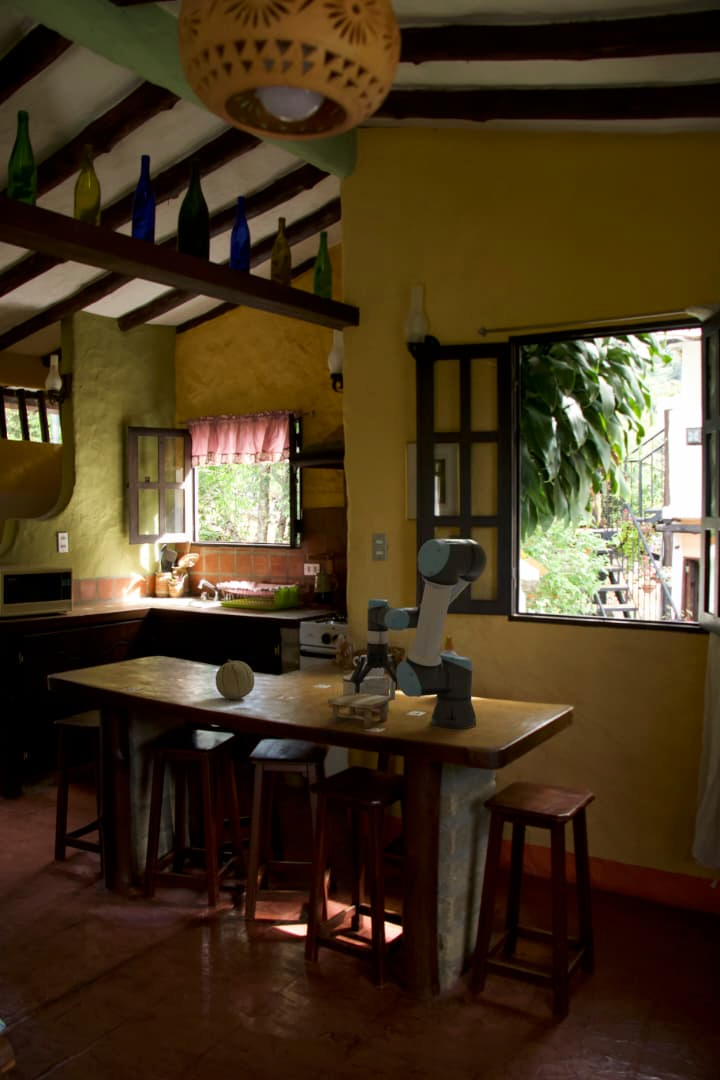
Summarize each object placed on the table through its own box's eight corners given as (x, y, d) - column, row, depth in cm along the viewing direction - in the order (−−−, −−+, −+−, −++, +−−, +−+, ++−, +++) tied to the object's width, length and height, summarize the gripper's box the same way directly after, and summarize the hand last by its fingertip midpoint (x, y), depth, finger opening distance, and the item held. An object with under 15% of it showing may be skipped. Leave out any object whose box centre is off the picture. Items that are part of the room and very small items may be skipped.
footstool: (391, 720, 303) (391, 696, 303) (370, 729, 289) (370, 705, 289) (350, 714, 311) (350, 692, 311) (327, 723, 297) (328, 699, 296)
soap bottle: (436, 698, 342) (437, 637, 342) (437, 693, 352) (438, 634, 351) (458, 699, 341) (459, 637, 340) (459, 694, 350) (460, 634, 350)
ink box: (386, 713, 314) (387, 680, 314) (362, 712, 315) (363, 679, 315) (389, 708, 322) (390, 676, 322) (366, 707, 324) (366, 675, 324)
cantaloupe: (252, 703, 327) (252, 663, 326) (212, 703, 326) (212, 662, 326) (256, 695, 341) (257, 656, 341) (218, 695, 341) (219, 656, 341)
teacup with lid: (355, 705, 327) (355, 673, 327) (337, 701, 333) (337, 670, 333) (376, 700, 336) (377, 670, 336) (358, 697, 342) (359, 667, 342)
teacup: (353, 676, 386) (353, 654, 386) (387, 677, 386) (387, 654, 386) (351, 681, 374) (352, 658, 374) (387, 682, 374) (387, 659, 374)
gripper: (402, 639, 327) (400, 696, 328) (341, 642, 316) (340, 701, 317) (412, 642, 321) (411, 700, 322) (351, 645, 309) (349, 705, 310)
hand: (376, 700), depth 319 cm, fingers open, 13 cm apart
